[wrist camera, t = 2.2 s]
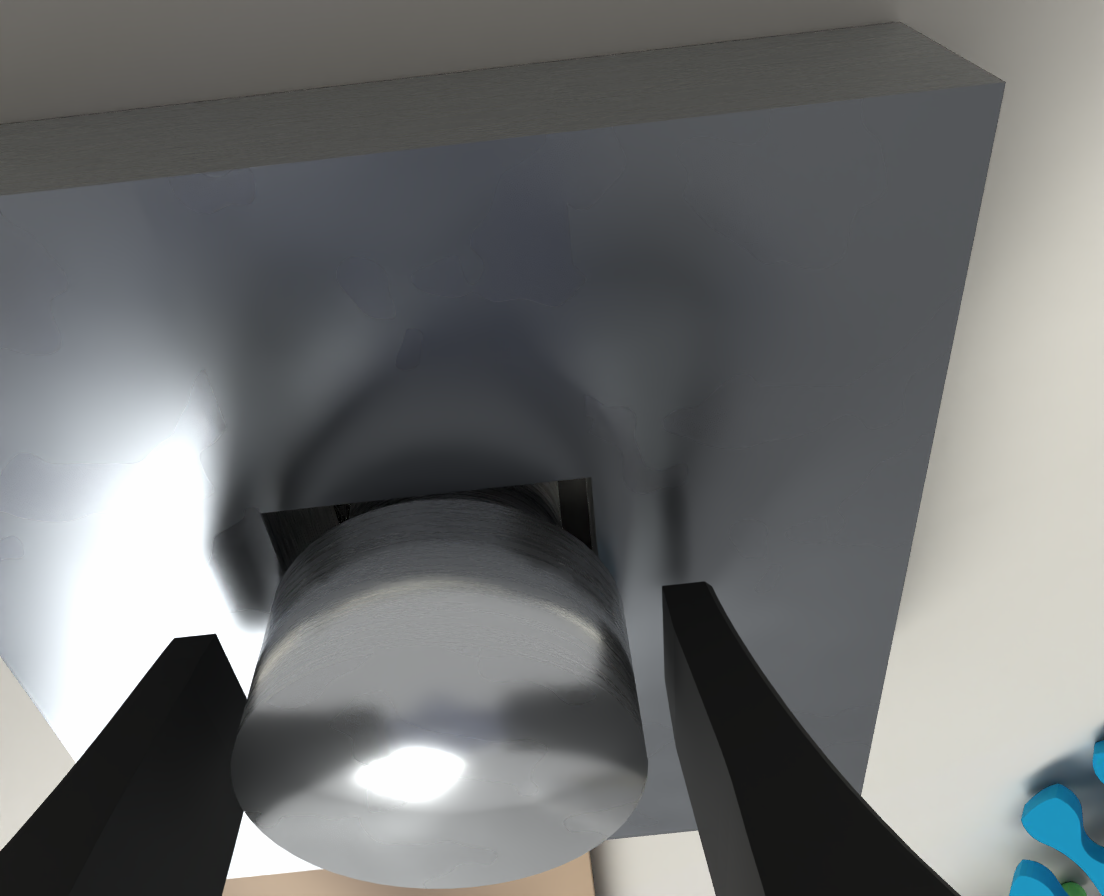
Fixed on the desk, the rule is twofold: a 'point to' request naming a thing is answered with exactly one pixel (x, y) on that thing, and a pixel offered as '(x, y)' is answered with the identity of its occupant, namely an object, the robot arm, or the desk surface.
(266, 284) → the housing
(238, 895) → the pad
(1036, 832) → the gear
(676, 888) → the desk surface
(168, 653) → the robot arm
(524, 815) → the end cover
